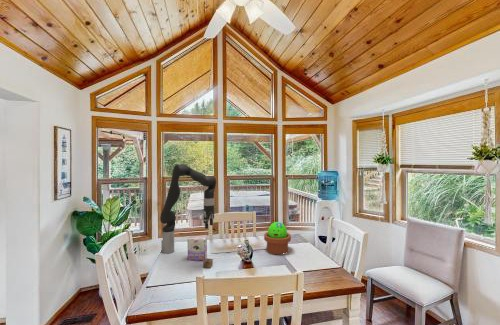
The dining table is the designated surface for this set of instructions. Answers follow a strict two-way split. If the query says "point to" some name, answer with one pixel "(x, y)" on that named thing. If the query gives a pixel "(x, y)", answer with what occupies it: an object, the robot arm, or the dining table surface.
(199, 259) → the candy box
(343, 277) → the dining table surface
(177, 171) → the robot arm
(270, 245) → the potted cactus
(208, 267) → the walnut cube
